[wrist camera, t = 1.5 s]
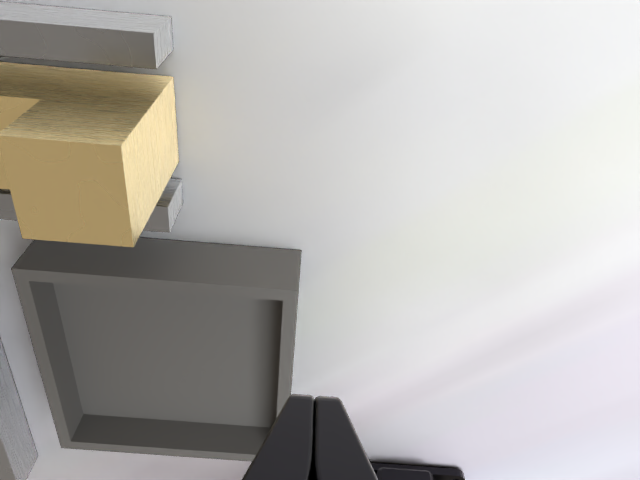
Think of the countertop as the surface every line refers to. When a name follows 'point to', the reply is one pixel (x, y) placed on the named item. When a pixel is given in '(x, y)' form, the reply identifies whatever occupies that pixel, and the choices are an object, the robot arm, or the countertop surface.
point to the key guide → (91, 61)
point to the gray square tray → (162, 343)
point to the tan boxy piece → (85, 150)
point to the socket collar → (13, 429)
